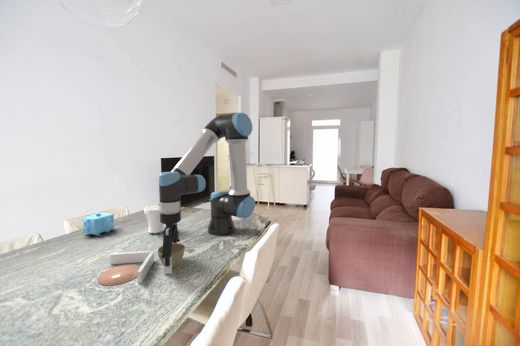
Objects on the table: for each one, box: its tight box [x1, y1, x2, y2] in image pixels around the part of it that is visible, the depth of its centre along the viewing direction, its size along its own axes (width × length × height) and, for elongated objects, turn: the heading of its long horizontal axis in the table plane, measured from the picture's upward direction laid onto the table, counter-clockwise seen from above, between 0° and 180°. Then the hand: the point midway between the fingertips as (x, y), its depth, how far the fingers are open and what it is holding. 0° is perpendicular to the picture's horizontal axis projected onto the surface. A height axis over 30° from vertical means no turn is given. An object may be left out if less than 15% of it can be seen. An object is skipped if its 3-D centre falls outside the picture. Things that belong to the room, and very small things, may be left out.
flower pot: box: [157, 243, 186, 269], centre depth 91 cm, size 10×10×7 cm
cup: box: [143, 204, 165, 236], centre depth 128 cm, size 11×11×14 cm
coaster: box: [97, 263, 142, 286], centre depth 84 cm, size 14×14×1 cm
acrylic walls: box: [109, 250, 155, 284], centre depth 86 cm, size 16×17×4 cm
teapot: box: [82, 212, 115, 237], centre depth 127 cm, size 16×18×11 cm
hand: (171, 265), depth 91 cm, fingers open, 12 cm apart
